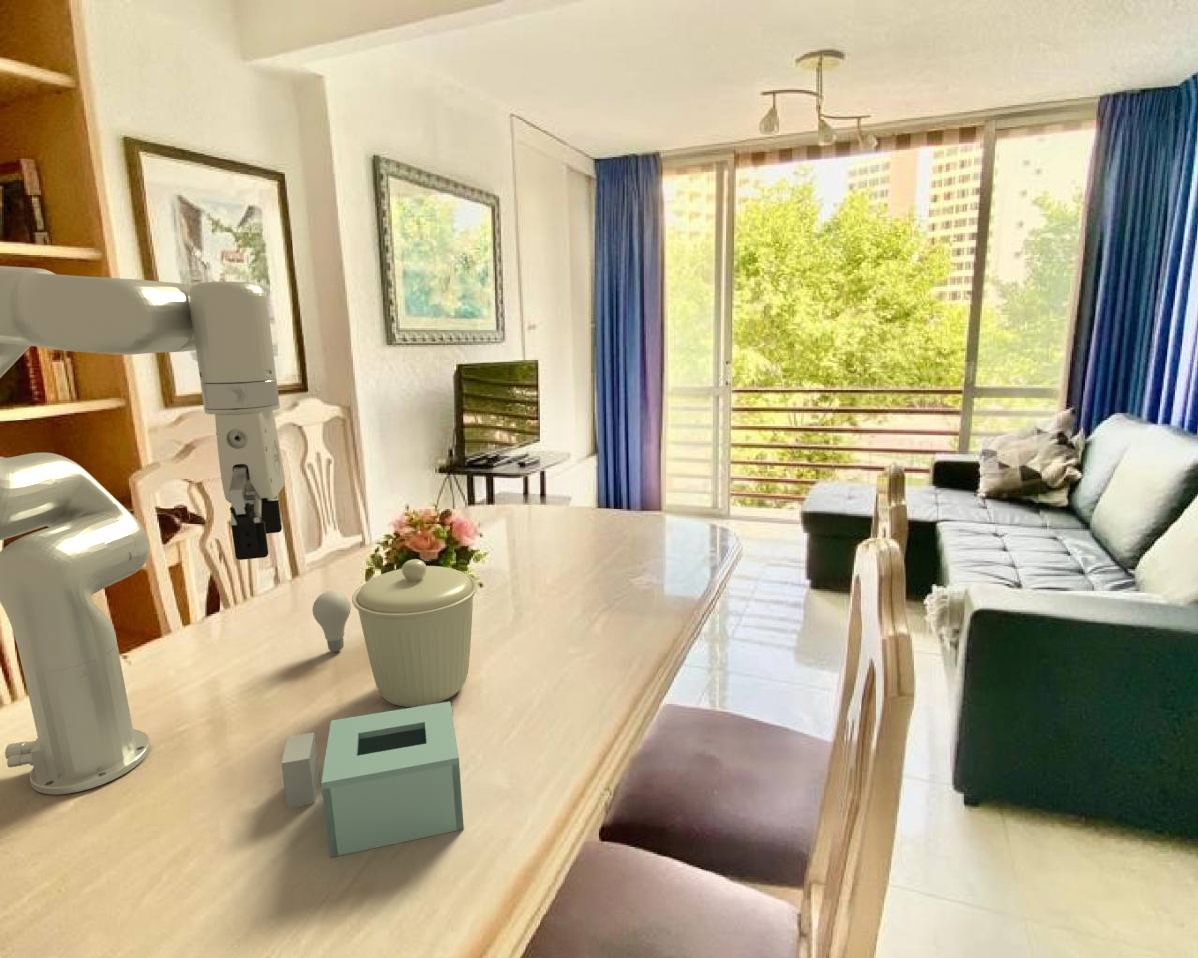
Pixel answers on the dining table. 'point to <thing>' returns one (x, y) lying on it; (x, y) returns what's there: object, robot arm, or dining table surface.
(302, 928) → the dining table surface
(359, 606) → the canister
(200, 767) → the dining table surface
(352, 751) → the coin box
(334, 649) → the lightbulb
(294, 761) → the gray rectangular block
